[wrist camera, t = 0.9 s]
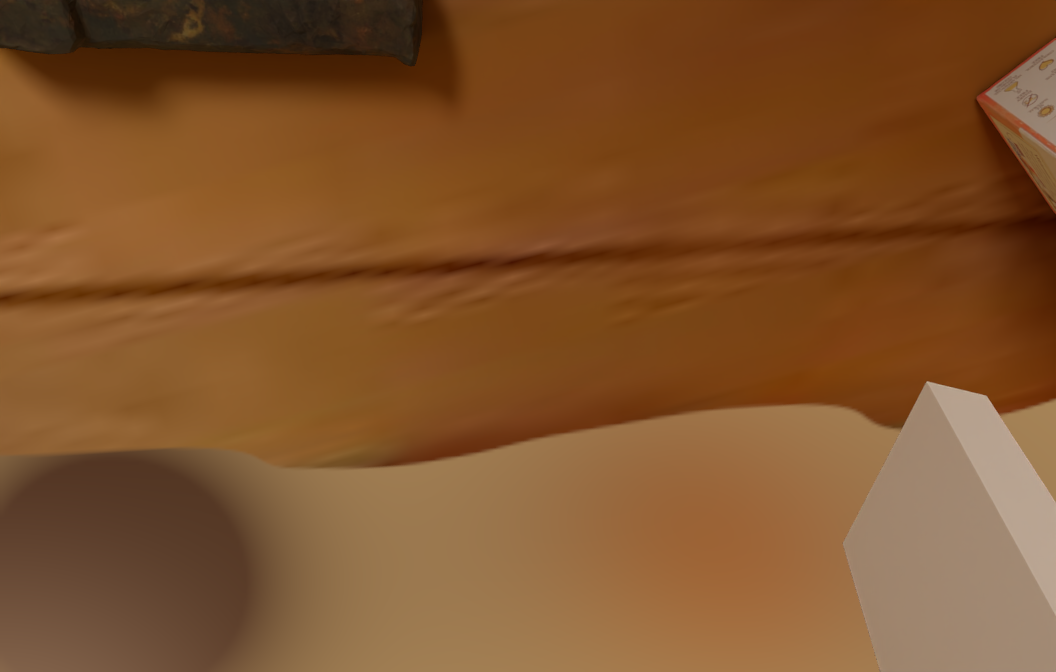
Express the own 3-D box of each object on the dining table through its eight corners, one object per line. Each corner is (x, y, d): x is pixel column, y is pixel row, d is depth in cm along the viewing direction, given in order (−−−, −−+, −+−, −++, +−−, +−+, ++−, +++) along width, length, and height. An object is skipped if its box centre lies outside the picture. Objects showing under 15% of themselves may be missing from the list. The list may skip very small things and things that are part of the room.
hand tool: (425, -52, 35) (418, -23, 31) (424, 47, 37) (418, 85, 34) (-64, -88, 34) (-133, -62, 30) (-33, 17, 36) (-93, 53, 32)
